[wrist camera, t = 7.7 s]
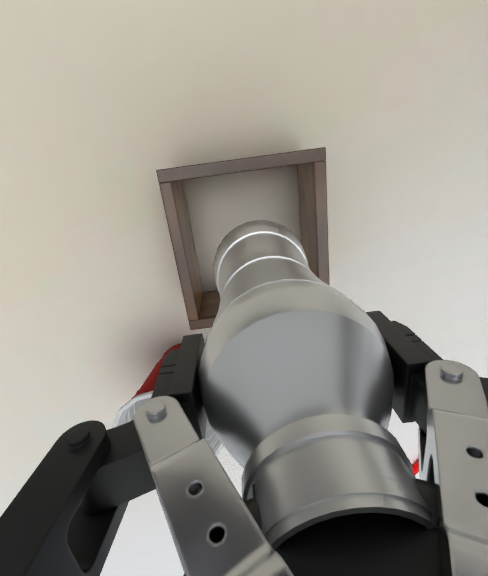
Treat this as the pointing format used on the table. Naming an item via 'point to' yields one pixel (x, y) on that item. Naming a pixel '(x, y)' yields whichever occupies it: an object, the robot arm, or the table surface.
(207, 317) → the wooden box
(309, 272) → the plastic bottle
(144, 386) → the plastic cup
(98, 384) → the table surface
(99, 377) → the table surface
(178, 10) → the table surface
